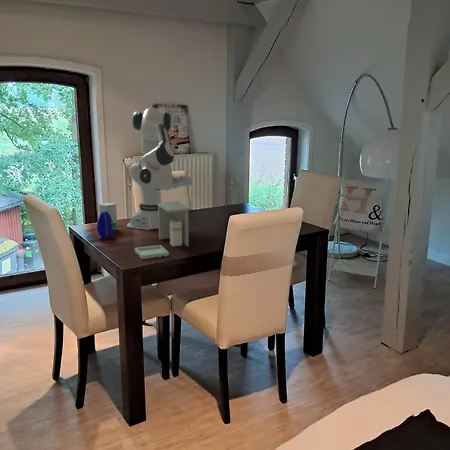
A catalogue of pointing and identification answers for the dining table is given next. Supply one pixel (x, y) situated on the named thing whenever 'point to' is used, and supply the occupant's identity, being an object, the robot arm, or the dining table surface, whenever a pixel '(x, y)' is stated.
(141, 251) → the tray
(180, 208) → the bay
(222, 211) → the dining table surface
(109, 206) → the skincare box
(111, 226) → the ornament
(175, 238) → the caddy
